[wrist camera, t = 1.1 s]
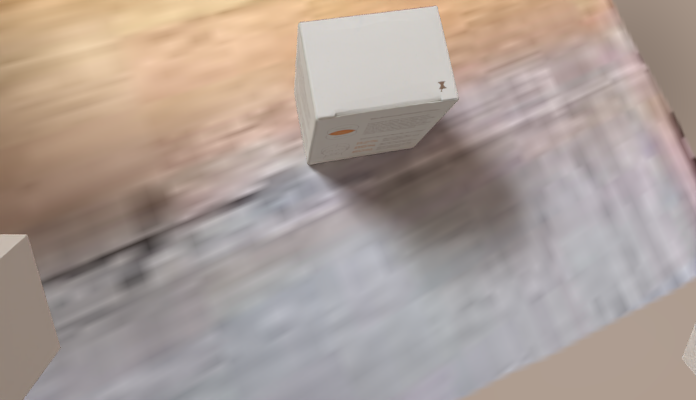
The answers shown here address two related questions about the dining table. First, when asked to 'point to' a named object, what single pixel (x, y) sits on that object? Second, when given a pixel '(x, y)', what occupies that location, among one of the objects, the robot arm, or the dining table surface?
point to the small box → (371, 82)
